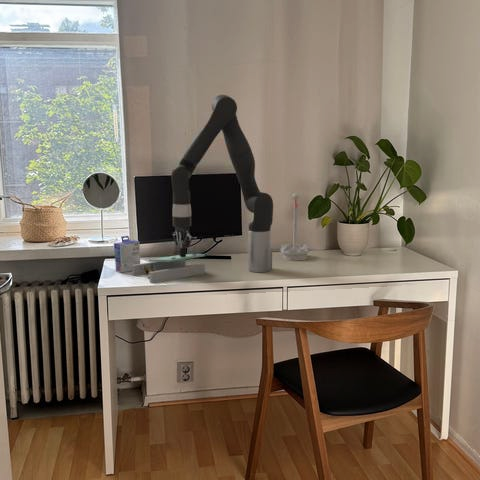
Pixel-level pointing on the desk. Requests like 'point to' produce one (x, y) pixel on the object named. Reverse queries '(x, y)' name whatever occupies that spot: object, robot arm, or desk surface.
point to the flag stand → (294, 241)
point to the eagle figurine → (148, 270)
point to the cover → (176, 258)
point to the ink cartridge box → (126, 254)
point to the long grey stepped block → (169, 270)
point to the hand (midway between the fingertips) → (182, 256)
